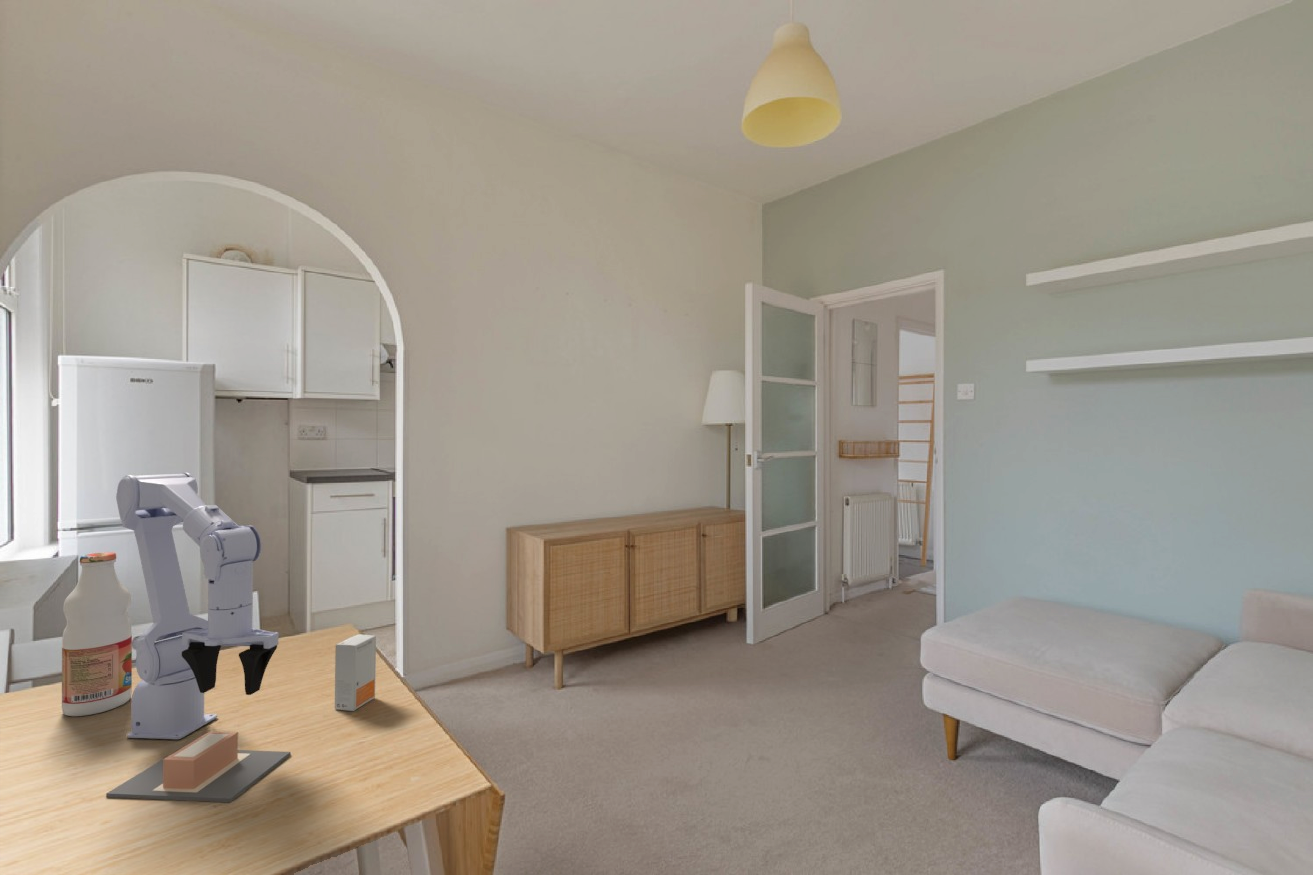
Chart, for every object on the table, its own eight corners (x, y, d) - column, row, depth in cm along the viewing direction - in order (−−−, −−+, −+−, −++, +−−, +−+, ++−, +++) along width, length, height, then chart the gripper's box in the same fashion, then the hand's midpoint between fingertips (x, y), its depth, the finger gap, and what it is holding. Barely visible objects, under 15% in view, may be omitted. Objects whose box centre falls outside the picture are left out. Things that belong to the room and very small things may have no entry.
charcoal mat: (106, 796, 81) (106, 792, 81) (181, 751, 93) (181, 747, 93) (230, 802, 80) (230, 798, 80) (290, 754, 92) (290, 751, 92)
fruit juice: (50, 711, 107) (51, 557, 107) (115, 691, 115) (115, 548, 115) (78, 721, 103) (78, 561, 103) (142, 699, 112) (143, 551, 112)
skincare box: (354, 712, 107) (354, 645, 107) (334, 709, 108) (334, 644, 108) (376, 697, 113) (376, 635, 113) (357, 695, 114) (357, 633, 114)
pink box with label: (209, 757, 91) (209, 730, 91) (237, 758, 90) (237, 731, 90) (163, 787, 83) (163, 758, 83) (193, 789, 82) (193, 760, 82)
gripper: (164, 610, 90) (164, 700, 90) (255, 613, 88) (254, 704, 88) (203, 598, 97) (203, 681, 97) (288, 600, 95) (287, 684, 95)
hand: (230, 691), depth 93 cm, fingers open, 7 cm apart
